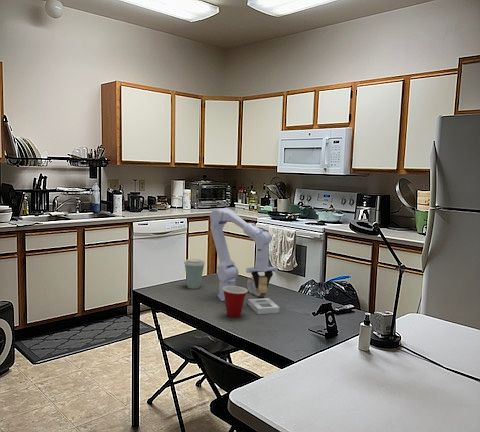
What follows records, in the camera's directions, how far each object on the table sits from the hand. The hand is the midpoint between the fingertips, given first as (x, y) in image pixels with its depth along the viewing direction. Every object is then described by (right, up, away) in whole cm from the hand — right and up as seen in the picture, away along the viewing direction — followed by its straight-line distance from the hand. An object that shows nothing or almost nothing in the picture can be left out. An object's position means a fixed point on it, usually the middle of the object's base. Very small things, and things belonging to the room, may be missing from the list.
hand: (261, 287), depth 201 cm
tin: (-2, -7, +19) cm, 20 cm away
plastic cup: (-12, -10, -12) cm, 20 cm away
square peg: (0, -2, 0) cm, 2 cm away
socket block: (+1, -9, -2) cm, 9 cm away
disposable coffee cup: (-34, -5, +30) cm, 46 cm away
